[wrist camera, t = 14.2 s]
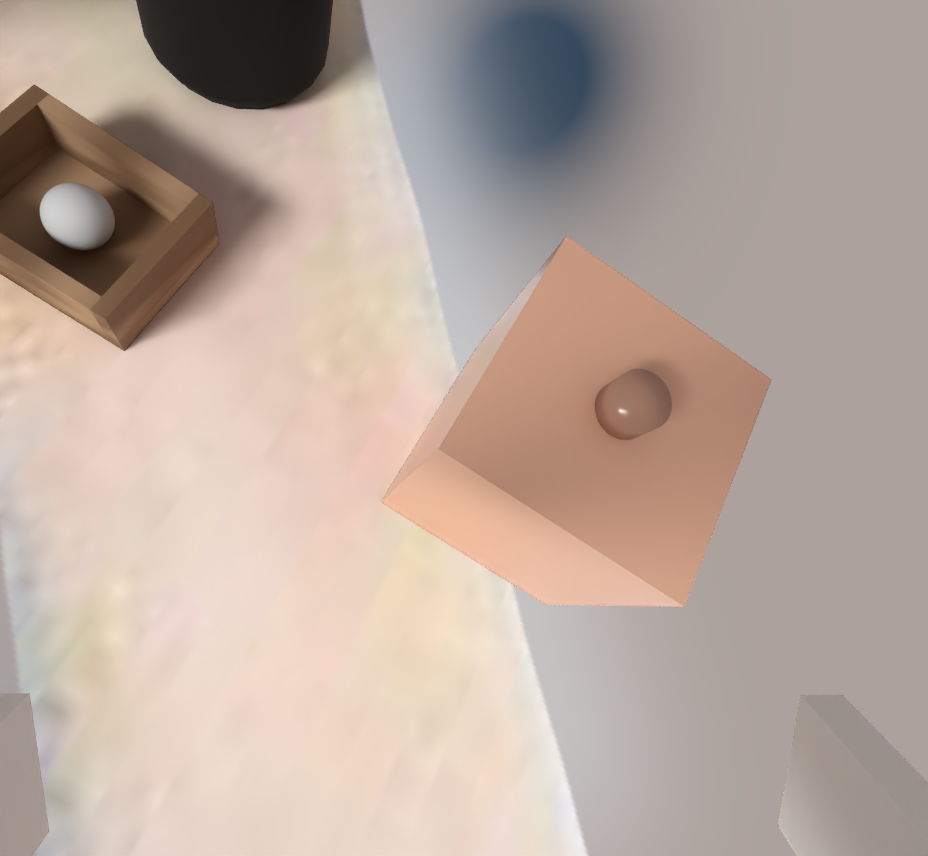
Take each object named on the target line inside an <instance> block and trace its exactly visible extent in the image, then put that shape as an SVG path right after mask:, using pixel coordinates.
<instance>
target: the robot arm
mask: <svg viewBox="0 0 928 856" xmlns="http://www.w3.org/2000/svg"><path fill="white" fill-rule="evenodd" d="M778 826H779V828H780V830H781V831H782V833H783V834H784V836H785V838H786V839H787V841H788V843H789V844H790V846H791V847H792V849H793V851H794V852H795V854H796V855H797V856H928V782H927V781H926V780H925V779H924V778H923V777H922V776H921V775H920V774H919V773H918V772H917V771H916V770H915V769H914V767H913V766H911V764H910V763H908V761H907V760H906V759H905V758H904V757H903V756H902V755H901V754H900V753H899V752H898V751H897V750H896V749H895V748H894V747H893V746H892V745H891V744H890V743H889V742H888V741H887V740H886V739H885V738H884V737H883V736H882V735H881V734H880V733H879V732H878V731H877V730H876V729H875V727H873V725H871V723H870V722H868V720H867V719H866V718H865V717H864V716H863V715H862V714H861V713H860V712H859V711H858V710H857V709H856V708H855V707H854V706H853V705H852V704H851V703H850V702H849V701H848V700H847V699H846V698H845V697H844V696H843V695H801V696H800V702H799V708H798V713H797V719H796V725H795V730H794V736H793V742H792V748H791V753H790V759H789V765H788V771H787V776H786V783H785V788H784V794H783V800H782V805H781V811H780V817H779V823H778ZM48 832H49V826H48V819H47V812H46V805H45V798H44V791H43V784H42V777H41V770H40V763H39V756H38V749H37V742H36V735H35V728H34V721H33V714H32V707H31V700H30V694H0V856H32V855H33V854H34V852H35V851H36V849H37V848H38V847H39V845H40V844H41V842H42V841H43V839H44V838H45V837H46V835H47V834H48Z"/></svg>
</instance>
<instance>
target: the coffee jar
mask: <svg viewBox="0 0 928 856" xmlns="http://www.w3.org/2000/svg"><path fill="white" fill-rule="evenodd" d="M136 2H137V6H138V10H139V15H140V19H141V24H142V28H143V32H144V36H145V38H146V39H147V41H148V43H149V45H150V47H151V48H152V50H153V52H154V54H155V56H156V58H157V59H158V60H159V62H160V63H161V64H162V65H163V66H164V67H165V68H166V69H167V70H168V71H169V72H170V73H171V74H172V75H173V76H174V77H176V78H177V79H178V80H179V81H180V82H181V83H182V84H184V85H185V86H186V87H187V88H188V89H190V90H192V91H194V92H196V93H197V94H199V95H201V96H203V97H205V98H206V99H208V100H210V101H212V102H215V103H219V104H222V105H226V106H230V107H233V108H237V109H265V108H269V107H273V106H277V105H281V104H284V103H286V102H288V101H289V100H291V99H293V98H294V97H296V96H297V95H299V94H300V93H302V92H303V91H305V90H306V89H308V88H309V87H310V86H311V84H312V83H313V82H314V80H315V79H316V77H317V76H318V74H319V73H320V71H321V70H322V69H323V67H324V65H325V60H326V55H327V50H328V44H329V34H330V24H331V14H332V4H333V0H136Z"/></svg>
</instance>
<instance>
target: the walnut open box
mask: <svg viewBox="0 0 928 856" xmlns="http://www.w3.org/2000/svg"><path fill="white" fill-rule="evenodd" d="M63 183H79V184H83V185H86V186H89V187H91V188H93V189H95V190H96V191H98V192H99V193H100V194H101V195H102V196H103V197H104V198H105V199H106V200H107V201H108V203H109V204H110V206H111V208H112V210H113V213H114V217H115V227H114V231H113V233H112V235H111V237H110V238H109V240H108V241H107V242H106V243H105V244H103V245H102V246H100V247H98V248H95V249H91V250H76V249H71V248H68V247H66V246H64V245H62V244H60V243H58V242H57V241H56V240H54V239H53V238H52V237H51V236H50V235H49V234H48V232H47V231H46V230H45V228H44V226H43V224H42V221H41V218H40V204H41V201H42V199H43V197H44V195H45V194H46V193H47V192H48V191H49V190H50V189H51V188H53V187H55V186H57V185H60V184H63ZM218 244H219V240H218V233H217V227H216V220H215V213H214V207H213V202H211V201H210V200H208V199H207V198H205V197H204V196H202V195H201V194H199V193H198V192H196V191H195V190H193V189H192V188H190V187H189V186H187V185H186V184H184V183H183V182H181V181H180V180H178V179H177V178H175V177H174V176H172V175H171V174H169V173H168V172H166V171H165V170H163V169H161V168H160V167H158V166H157V165H155V164H154V163H152V162H151V161H149V160H148V159H146V158H145V157H143V156H142V155H140V154H139V153H137V152H136V151H134V150H133V149H131V148H130V147H128V146H127V145H125V144H124V143H122V142H121V141H119V140H118V139H116V138H115V137H113V136H112V135H110V134H109V133H107V132H106V131H104V130H102V129H101V128H99V127H98V126H96V125H95V124H93V123H92V122H90V121H89V120H87V119H86V118H84V117H83V116H81V115H80V114H78V113H77V112H75V111H74V110H72V109H71V108H69V107H68V106H66V105H65V104H63V103H62V102H60V101H59V100H57V99H56V98H54V97H53V96H51V95H50V94H48V93H47V92H45V91H43V90H42V89H40V88H39V87H37V86H36V85H33V86H32V87H31V88H29V89H28V90H27V91H26V92H25V93H23V94H22V95H21V96H20V97H19V98H17V99H16V100H15V101H14V102H13V103H11V104H10V105H9V106H8V107H7V108H5V109H4V110H3V111H2V112H1V113H0V274H1V275H3V276H5V277H6V278H8V279H10V280H11V281H13V282H14V283H16V284H18V285H19V286H21V287H22V288H24V289H26V290H27V291H29V292H30V293H32V294H34V295H35V296H37V297H38V298H40V299H42V300H43V301H45V302H46V303H48V304H50V305H51V306H53V307H54V308H56V309H58V310H59V311H61V312H63V313H64V314H66V315H67V316H69V317H71V318H72V319H74V320H75V321H77V322H79V323H80V324H82V325H83V326H85V327H87V328H88V329H90V330H91V331H93V332H95V333H96V334H98V335H99V336H101V337H103V338H104V339H106V340H107V341H109V342H111V343H112V344H114V345H116V346H117V347H119V348H120V349H122V350H124V351H125V349H126V348H127V347H128V346H129V345H130V344H131V343H132V342H133V340H134V339H135V338H136V337H137V336H138V335H139V334H140V333H141V331H142V330H143V329H144V328H145V327H146V326H147V325H148V323H149V322H150V321H151V320H152V319H153V318H154V317H155V316H156V314H157V313H158V312H159V311H160V310H161V309H162V308H163V307H164V305H165V304H166V303H167V302H168V301H169V300H170V299H171V298H172V296H173V295H174V294H175V293H176V292H177V291H178V290H179V288H180V287H181V286H182V285H183V284H184V283H185V282H186V281H187V279H188V278H189V277H190V276H191V275H192V274H193V273H194V272H195V270H196V269H197V268H198V267H199V266H200V265H201V264H202V262H203V261H204V260H205V259H206V258H207V257H208V256H209V255H210V253H211V252H212V251H213V250H214V249H215V248H216V247H217V246H218Z"/></svg>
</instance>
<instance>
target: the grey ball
mask: <svg viewBox="0 0 928 856" xmlns="http://www.w3.org/2000/svg"><path fill="white" fill-rule="evenodd" d="M40 218H41V221H42V224H43V226H44V228H45V230H46V231H47V232H48V234H49V235H50V236H51V237H52V238H53V239H54V240H56V241H57V242H58V243H60V244H62V245H64V246H66V247H68V248H71V249H76V250H91V249H95V248H98V247H100V246H102V245H103V244H105V243H106V242H107V241H108V240H109V238H110V237H111V235H112V233H113V231H114V227H115V217H114V213H113V210H112V208H111V206H110V204H109V203H108V201H107V200H106V199H105V198H104V197H103V196H102V195H101V194H100V193H99V192H98V191H96V190H95V189H93V188H91V187H89V186H86V185H83V184H79V183H63V184H60V185H57V186H55V187H53V188H51V189H50V190H49V191H48V192H47V193H46V194H45V195H44V197H43V199H42V201H41V204H40Z"/></svg>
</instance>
